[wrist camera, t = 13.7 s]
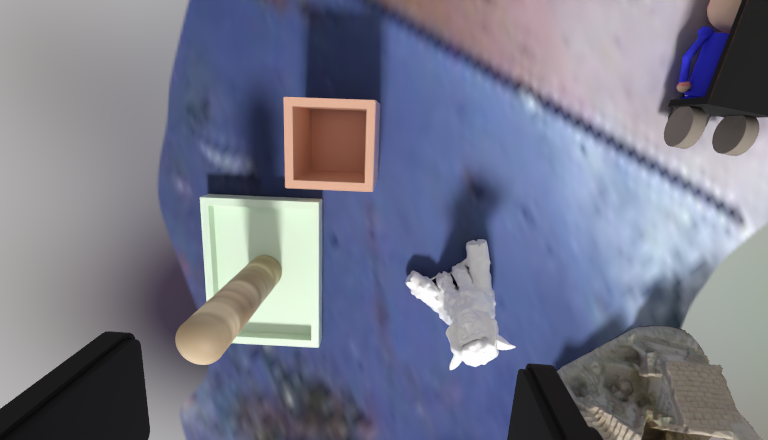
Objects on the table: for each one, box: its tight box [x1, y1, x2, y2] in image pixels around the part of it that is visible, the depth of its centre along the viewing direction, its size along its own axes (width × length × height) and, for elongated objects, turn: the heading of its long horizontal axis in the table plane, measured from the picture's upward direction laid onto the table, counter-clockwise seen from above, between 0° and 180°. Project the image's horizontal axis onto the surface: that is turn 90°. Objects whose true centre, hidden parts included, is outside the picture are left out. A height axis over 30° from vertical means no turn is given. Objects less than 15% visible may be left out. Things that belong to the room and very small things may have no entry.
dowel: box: [175, 255, 282, 365], centre depth 37 cm, size 4×4×15 cm
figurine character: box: [664, 0, 768, 156], centre depth 36 cm, size 7×8×15 cm
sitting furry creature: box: [405, 239, 515, 370], centre depth 39 cm, size 10×9×12 cm
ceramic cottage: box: [557, 326, 762, 440], centre depth 41 cm, size 16×16×15 cm
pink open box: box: [284, 97, 380, 192], centre depth 38 cm, size 7×7×8 cm
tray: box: [200, 194, 322, 348], centre depth 45 cm, size 16×12×2 cm
